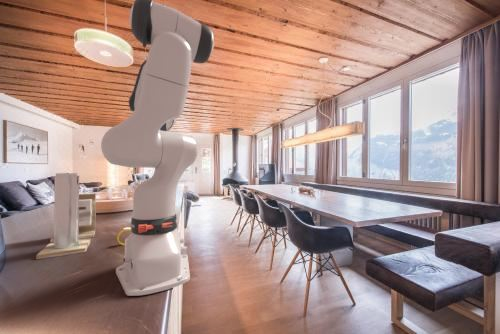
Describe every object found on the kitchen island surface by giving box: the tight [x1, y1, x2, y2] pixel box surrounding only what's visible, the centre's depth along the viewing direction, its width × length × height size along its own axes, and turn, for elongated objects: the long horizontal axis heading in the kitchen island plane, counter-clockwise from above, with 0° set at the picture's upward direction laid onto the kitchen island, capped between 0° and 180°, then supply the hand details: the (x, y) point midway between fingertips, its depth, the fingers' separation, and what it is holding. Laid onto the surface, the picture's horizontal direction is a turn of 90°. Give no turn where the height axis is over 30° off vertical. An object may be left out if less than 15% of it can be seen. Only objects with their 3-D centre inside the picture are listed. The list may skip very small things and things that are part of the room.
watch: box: [116, 226, 131, 246], centre depth 79 cm, size 6×3×6 cm, turn 129°
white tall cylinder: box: [53, 172, 80, 249], centre depth 73 cm, size 6×6×25 cm
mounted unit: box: [49, 193, 97, 244], centre depth 86 cm, size 7×13×17 cm, turn 120°
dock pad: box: [35, 238, 92, 260], centre depth 73 cm, size 12×12×1 cm
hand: (121, 158), depth 86 cm, fingers open, 8 cm apart
